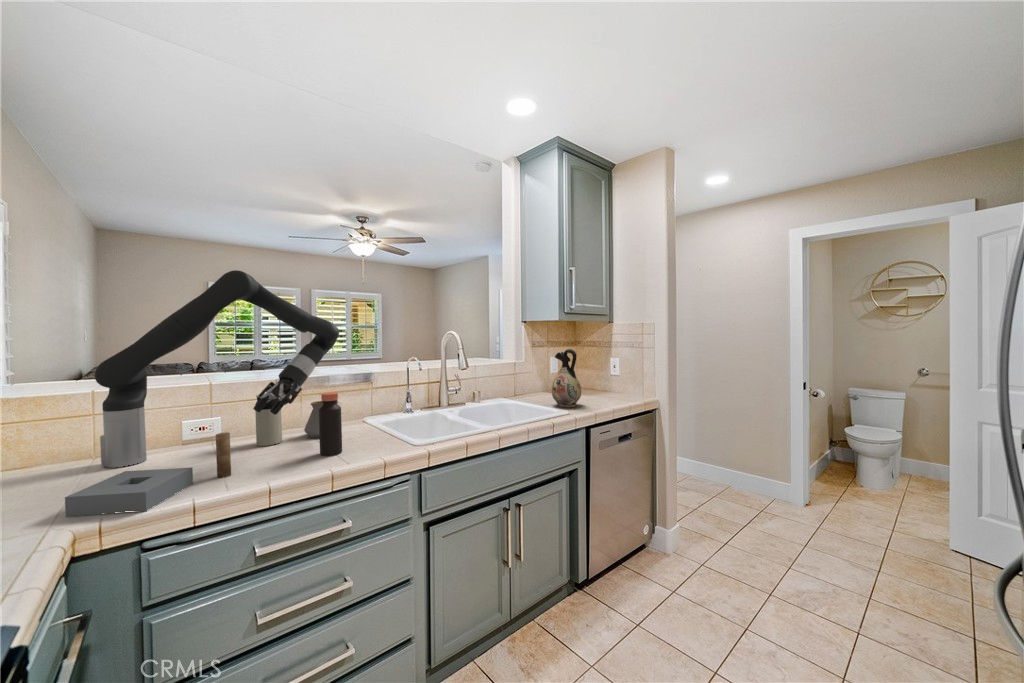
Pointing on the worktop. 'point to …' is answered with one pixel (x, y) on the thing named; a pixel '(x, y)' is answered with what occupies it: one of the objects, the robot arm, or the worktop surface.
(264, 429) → the travel mug
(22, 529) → the worktop surface
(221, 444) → the peg
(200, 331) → the robot arm
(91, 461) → the worktop surface
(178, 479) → the hole block
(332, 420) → the bottle
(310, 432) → the coffee pot
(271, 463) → the worktop surface
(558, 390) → the ceramic jug
